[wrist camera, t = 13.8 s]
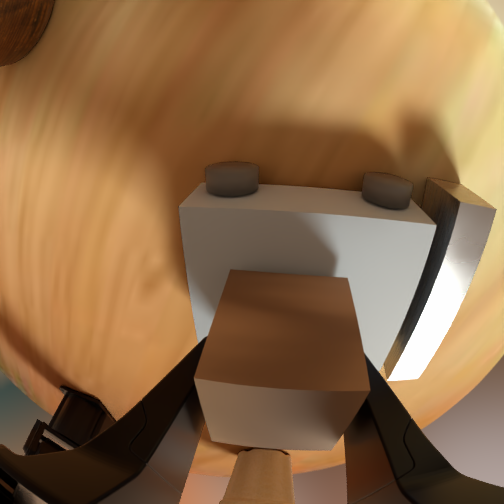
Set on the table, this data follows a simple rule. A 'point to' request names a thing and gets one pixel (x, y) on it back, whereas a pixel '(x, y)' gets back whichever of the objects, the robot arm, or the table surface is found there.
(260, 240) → the cart
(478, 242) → the buffer
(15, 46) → the utensil holder
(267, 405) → the block
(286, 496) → the flower pot
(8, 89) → the table surface
